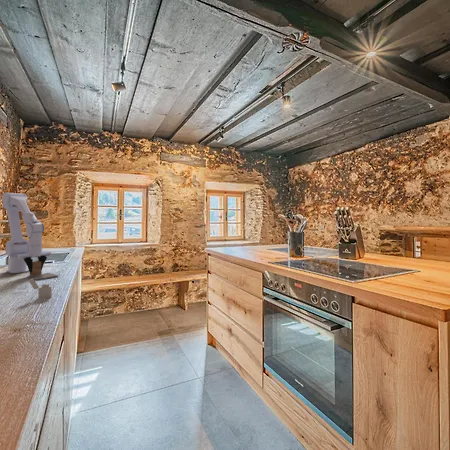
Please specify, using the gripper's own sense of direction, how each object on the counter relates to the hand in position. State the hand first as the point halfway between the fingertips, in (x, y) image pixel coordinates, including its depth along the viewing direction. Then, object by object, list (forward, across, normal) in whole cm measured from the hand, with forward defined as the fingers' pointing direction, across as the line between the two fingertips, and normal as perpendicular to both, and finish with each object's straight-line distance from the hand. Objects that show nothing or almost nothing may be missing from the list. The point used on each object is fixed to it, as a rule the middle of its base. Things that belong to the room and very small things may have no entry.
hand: (35, 270), depth 138 cm
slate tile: (+2, 0, -8) cm, 9 cm away
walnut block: (+2, 0, 0) cm, 2 cm away
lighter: (+2, -15, -45) cm, 47 cm away
